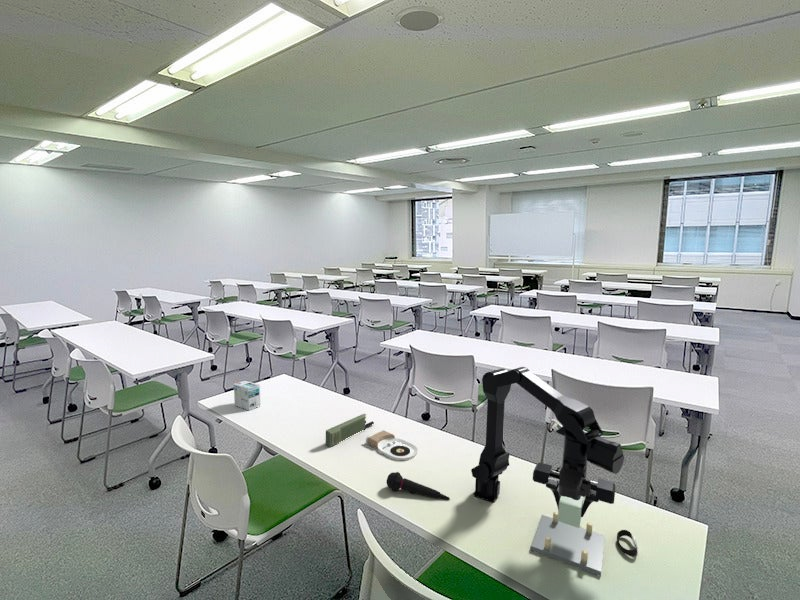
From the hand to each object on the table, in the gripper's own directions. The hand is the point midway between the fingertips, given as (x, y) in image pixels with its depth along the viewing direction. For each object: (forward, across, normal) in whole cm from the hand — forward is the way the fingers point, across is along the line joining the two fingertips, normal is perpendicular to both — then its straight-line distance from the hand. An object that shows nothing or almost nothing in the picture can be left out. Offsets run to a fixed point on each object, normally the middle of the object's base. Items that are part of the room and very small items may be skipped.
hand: (570, 512), depth 104 cm
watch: (+9, +13, +7) cm, 18 cm away
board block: (+1, 0, 0) cm, 1 cm away
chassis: (+9, 0, 0) cm, 9 cm away
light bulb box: (+10, -142, +18) cm, 143 cm away
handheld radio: (+10, -84, +20) cm, 86 cm away
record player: (+10, -64, +20) cm, 68 cm away
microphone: (+10, -43, -1) cm, 44 cm away
